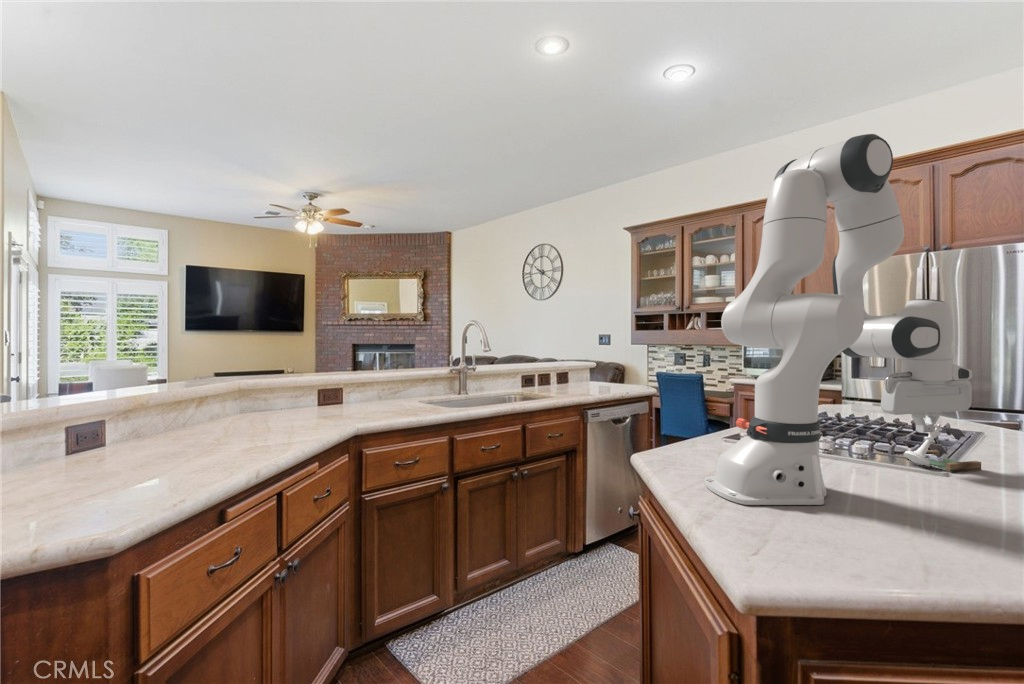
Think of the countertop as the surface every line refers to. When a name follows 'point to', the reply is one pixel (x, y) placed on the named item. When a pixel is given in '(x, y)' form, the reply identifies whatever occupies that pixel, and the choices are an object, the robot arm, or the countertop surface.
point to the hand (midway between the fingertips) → (925, 431)
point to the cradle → (954, 464)
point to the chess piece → (923, 448)
